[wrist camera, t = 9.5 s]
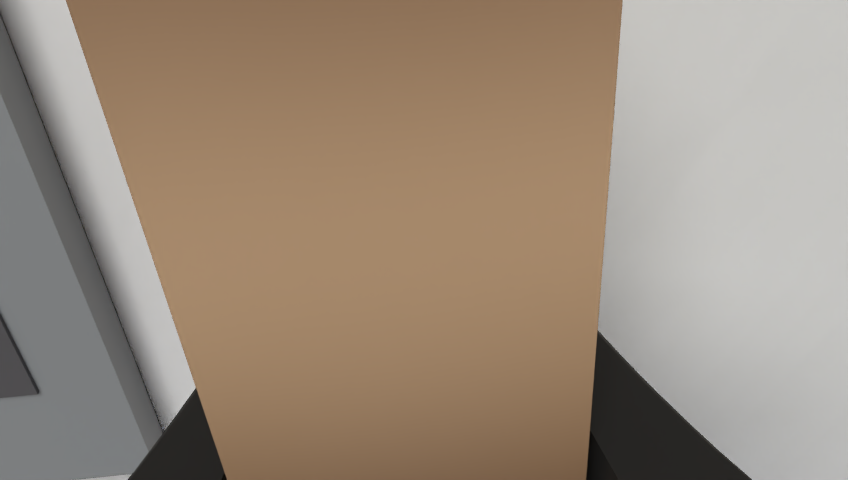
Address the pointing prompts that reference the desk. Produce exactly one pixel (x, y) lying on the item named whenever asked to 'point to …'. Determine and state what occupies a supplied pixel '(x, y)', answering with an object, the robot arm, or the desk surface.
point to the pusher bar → (373, 222)
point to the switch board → (57, 319)
